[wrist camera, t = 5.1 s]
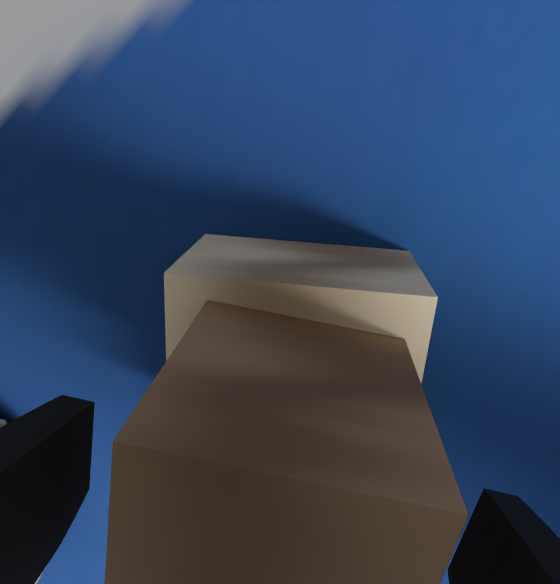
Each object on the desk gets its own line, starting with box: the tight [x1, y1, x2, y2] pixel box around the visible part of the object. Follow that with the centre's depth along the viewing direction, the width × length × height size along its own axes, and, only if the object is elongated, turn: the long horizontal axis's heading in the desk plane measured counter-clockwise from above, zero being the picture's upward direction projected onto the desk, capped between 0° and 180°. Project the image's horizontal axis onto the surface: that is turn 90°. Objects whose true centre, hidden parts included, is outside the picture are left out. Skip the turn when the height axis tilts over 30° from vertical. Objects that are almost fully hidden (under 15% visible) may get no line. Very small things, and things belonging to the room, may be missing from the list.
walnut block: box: [105, 300, 468, 584], centre depth 9 cm, size 4×4×5 cm
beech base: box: [164, 234, 438, 383], centre depth 13 cm, size 6×6×4 cm
